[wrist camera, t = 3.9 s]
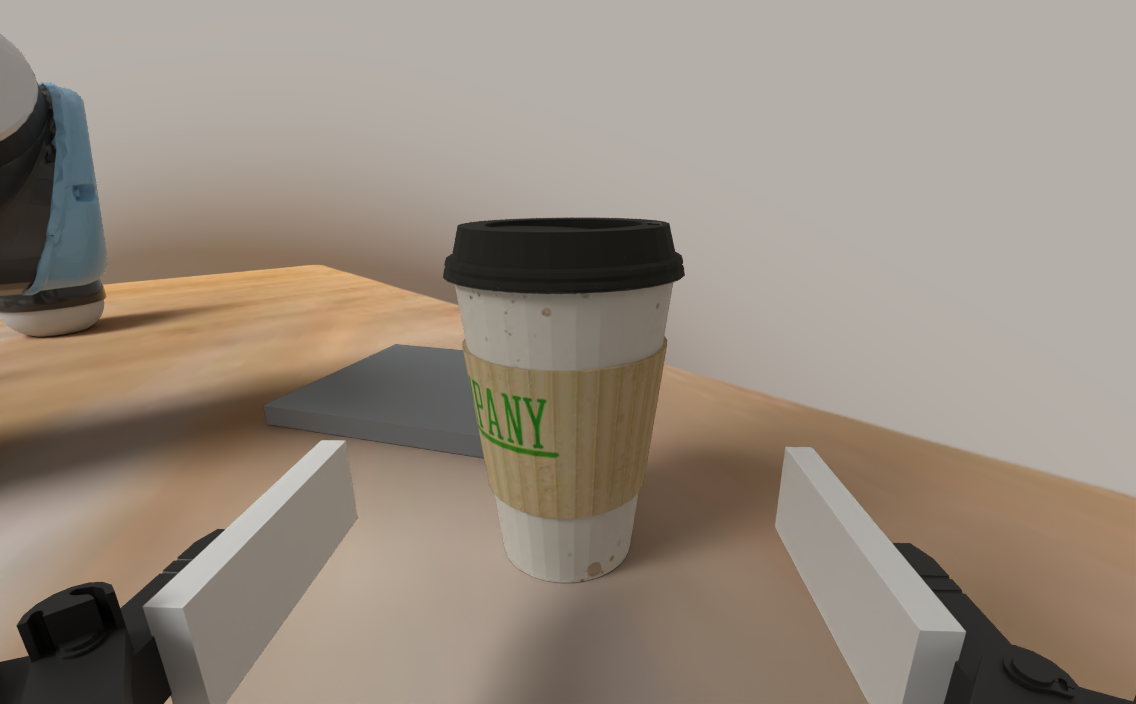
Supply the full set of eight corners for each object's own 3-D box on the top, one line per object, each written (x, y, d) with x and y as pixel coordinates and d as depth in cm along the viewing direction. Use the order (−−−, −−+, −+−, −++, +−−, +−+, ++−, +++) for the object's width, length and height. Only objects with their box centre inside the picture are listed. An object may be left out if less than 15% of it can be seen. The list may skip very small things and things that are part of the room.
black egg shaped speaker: (126, 317, 71) (95, 201, 67) (95, 336, 62) (56, 203, 57) (28, 325, 67) (-12, 202, 63) (-20, 347, 58) (-71, 205, 54)
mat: (266, 424, 38) (263, 405, 38) (397, 358, 53) (395, 344, 52) (519, 463, 33) (518, 441, 32) (587, 377, 47) (588, 361, 47)
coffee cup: (492, 479, 31) (476, 217, 26) (661, 487, 30) (675, 216, 25) (436, 607, 21) (396, 234, 17) (679, 624, 21) (706, 234, 16)
